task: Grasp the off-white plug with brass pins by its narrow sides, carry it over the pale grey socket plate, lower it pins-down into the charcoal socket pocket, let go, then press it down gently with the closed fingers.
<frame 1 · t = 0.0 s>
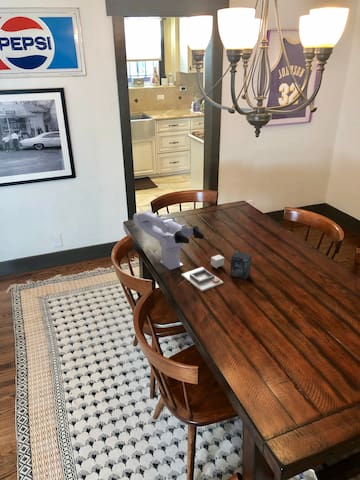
hand: (195, 238, 158), 22 cm above the table, tool horizontal, fingers open, 7 cm apart
box: (240, 275, 173), on the table
socket plate: (202, 279, 169), on the table
plug: (217, 266, 180), on the table
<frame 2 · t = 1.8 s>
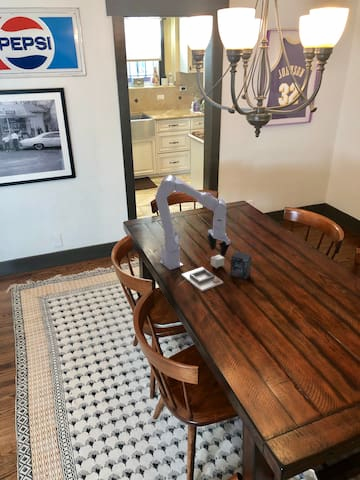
hand: (218, 252, 176), 8 cm above the table, tool pointing down, fingers open, 7 cm apart
nothing on the table moved.
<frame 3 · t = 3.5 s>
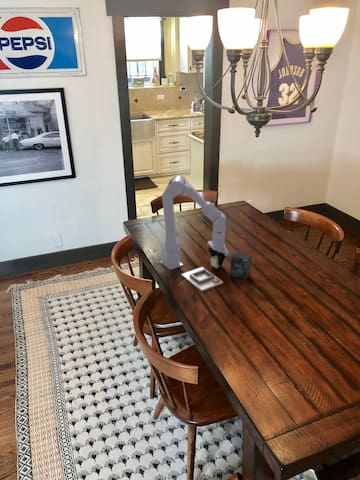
hand: (217, 263, 179), 2 cm above the table, tool pointing down, fingers closed on plug, 4 cm apart
plug: (217, 266, 180), on the table, touching gripper
everything else where it was.
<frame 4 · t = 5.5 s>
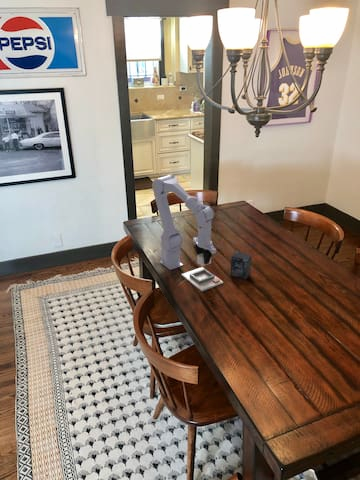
hand: (203, 261, 166), 9 cm above the table, tool pointing down, fingers closed on plug, 4 cm apart
plug: (203, 265, 167), point 7 cm above the table, touching gripper
everything else where it was.
when the fingers open (3 cm above the table, at t = 7.5 s): plug stays where it is, resting on socket plate.
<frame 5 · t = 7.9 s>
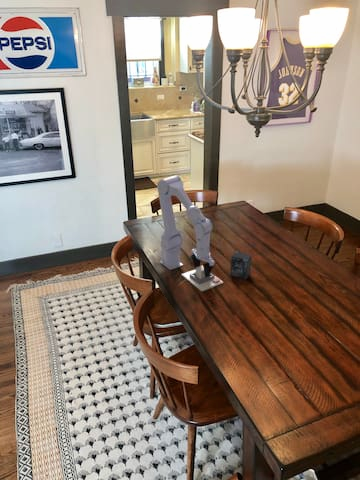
hand: (202, 272, 168), 3 cm above the table, tool pointing down, fingers open, 7 cm apart
plug: (202, 277, 169), point 1 cm above the table, touching socket plate
everything else where it was.
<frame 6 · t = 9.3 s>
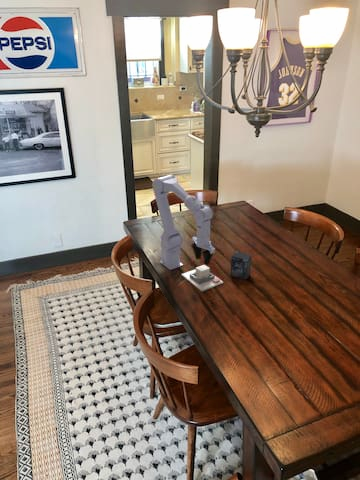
hand: (202, 261, 165), 9 cm above the table, tool pointing down, fingers open, 6 cm apart
nothing on the table moved.
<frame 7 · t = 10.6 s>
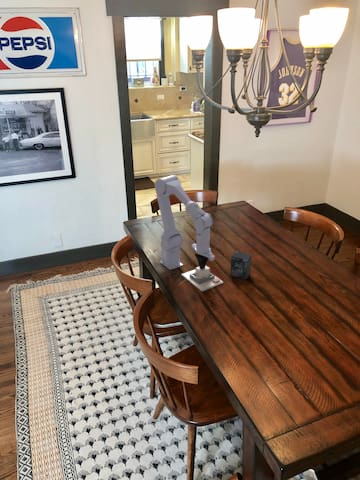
hand: (202, 268, 167), 6 cm above the table, tool pointing down, fingers closed, pressing on plug
plug: (202, 277, 169), point 1 cm above the table, touching gripper, socket plate
everything else where it was.
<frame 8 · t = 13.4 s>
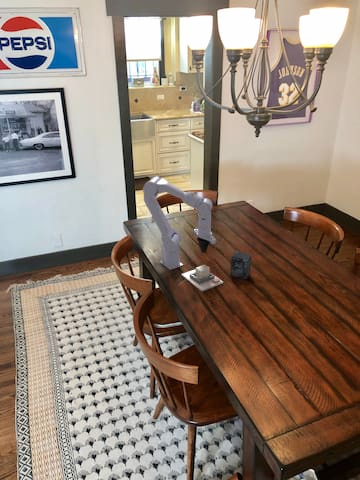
hand: (203, 251, 173), 9 cm above the table, tool pointing down, fingers closed
plug: (202, 277, 169), point 1 cm above the table, touching socket plate
everything else where it was.
at the end: plug 0.2 cm off-centre on the socket plate, point 0.8 cm above the socket plate's base; plug tilted 0°; the gripper is holding nothing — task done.
